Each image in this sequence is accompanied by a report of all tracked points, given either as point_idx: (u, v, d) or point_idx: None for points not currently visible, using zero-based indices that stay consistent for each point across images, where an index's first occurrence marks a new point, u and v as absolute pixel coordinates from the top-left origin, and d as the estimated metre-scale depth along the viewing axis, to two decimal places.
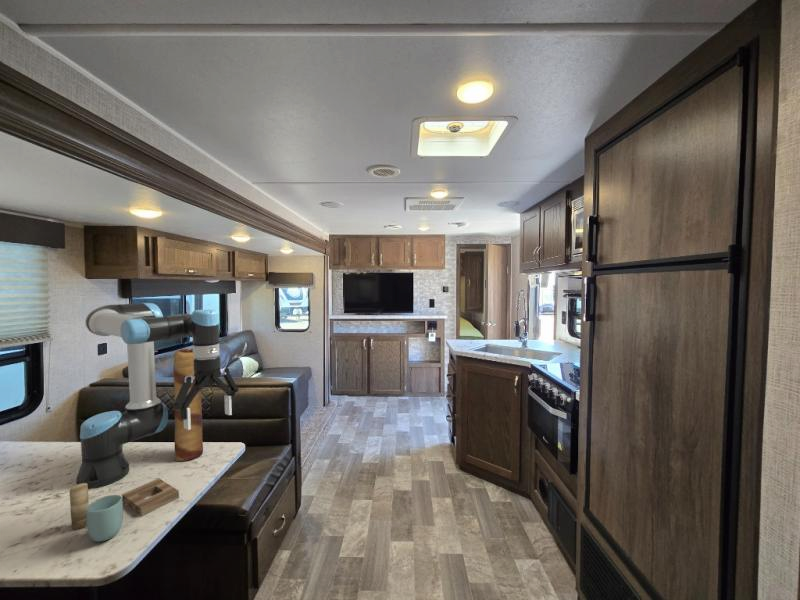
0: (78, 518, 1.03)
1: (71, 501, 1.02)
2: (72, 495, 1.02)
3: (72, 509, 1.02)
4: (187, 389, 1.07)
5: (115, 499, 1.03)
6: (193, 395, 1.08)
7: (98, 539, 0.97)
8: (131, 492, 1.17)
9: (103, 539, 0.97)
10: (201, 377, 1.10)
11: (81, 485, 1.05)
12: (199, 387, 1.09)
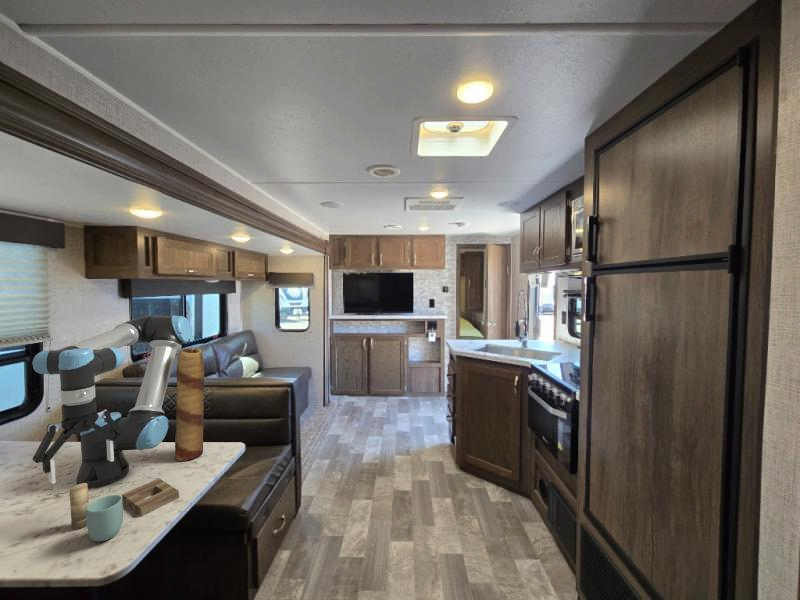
0: (78, 518, 1.03)
1: (71, 501, 1.02)
2: (72, 495, 1.02)
3: (72, 509, 1.02)
4: (50, 439, 0.97)
5: (115, 499, 1.03)
6: (59, 445, 0.99)
7: (98, 539, 0.97)
8: (131, 492, 1.17)
9: (103, 539, 0.97)
10: (70, 424, 1.01)
11: (81, 485, 1.05)
12: (67, 436, 1.00)
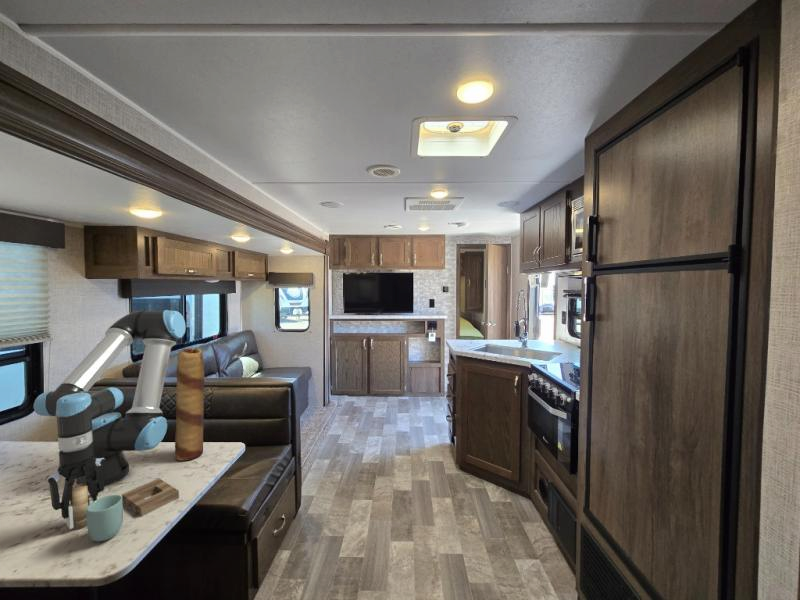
0: (78, 518, 1.03)
1: (71, 501, 1.02)
2: (72, 495, 1.02)
3: None
4: (56, 489, 0.99)
5: (115, 499, 1.03)
6: (68, 492, 1.01)
7: (98, 539, 0.97)
8: (131, 492, 1.17)
9: (103, 539, 0.97)
10: (67, 469, 1.01)
11: (81, 485, 1.05)
12: (70, 482, 1.01)
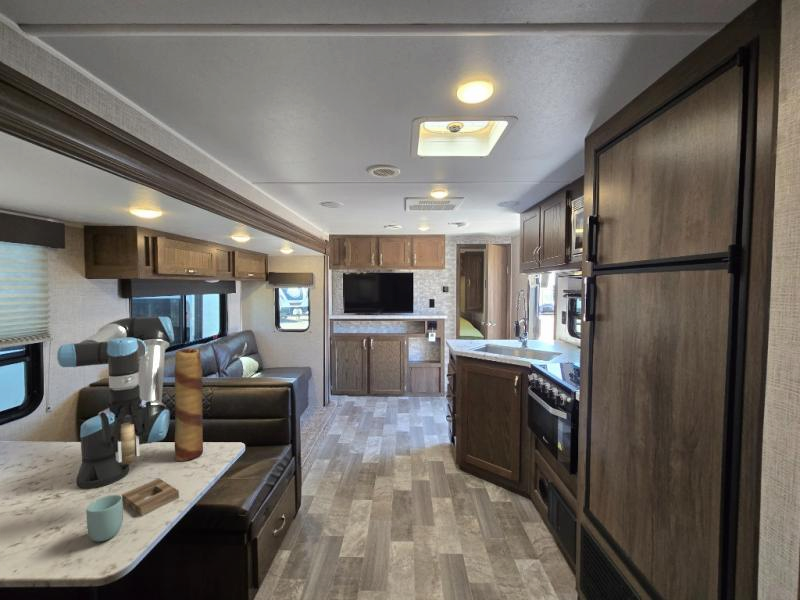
0: (126, 453, 1.10)
1: (120, 437, 1.10)
2: (121, 431, 1.09)
3: None
4: (107, 423, 1.06)
5: (115, 499, 1.03)
6: (117, 427, 1.09)
7: (98, 539, 0.97)
8: (131, 492, 1.17)
9: (103, 539, 0.97)
10: (116, 406, 1.08)
11: (128, 423, 1.12)
12: (119, 419, 1.09)
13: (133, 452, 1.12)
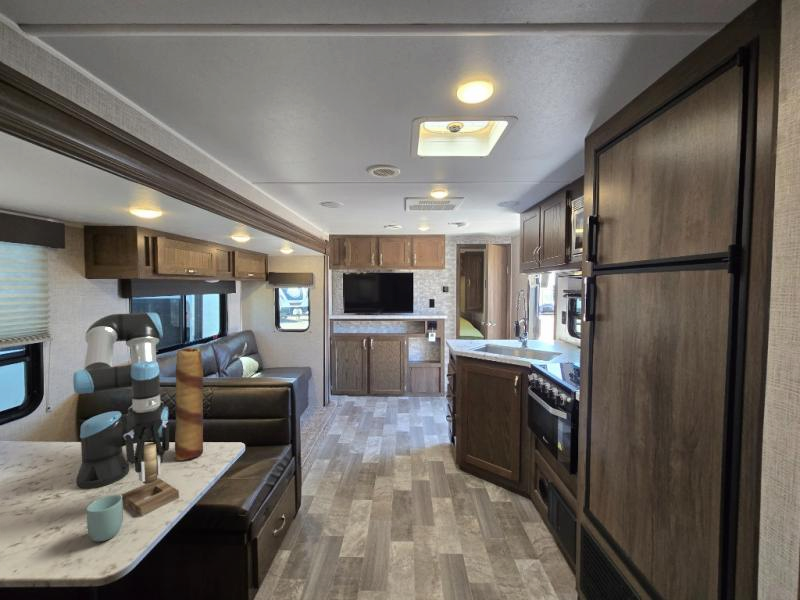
0: (149, 473, 1.15)
1: (143, 457, 1.14)
2: (144, 451, 1.14)
3: (144, 464, 1.14)
4: (131, 445, 1.11)
5: (115, 499, 1.03)
6: (141, 448, 1.13)
7: (98, 539, 0.97)
8: (131, 492, 1.17)
9: (103, 539, 0.97)
10: (140, 428, 1.13)
11: (150, 444, 1.17)
12: (143, 440, 1.13)
13: (155, 471, 1.16)
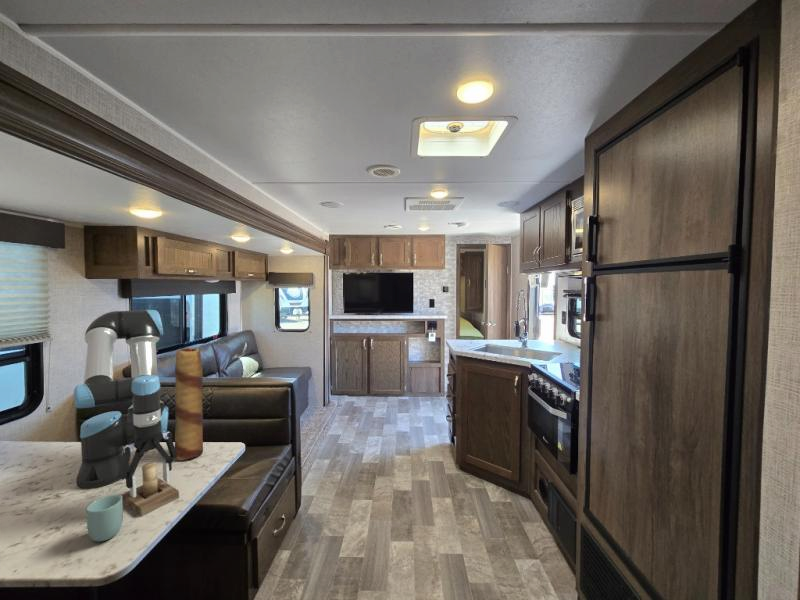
0: (150, 492, 1.15)
1: (144, 477, 1.15)
2: (145, 471, 1.14)
3: (145, 484, 1.15)
4: (128, 459, 1.10)
5: (115, 499, 1.03)
6: (136, 463, 1.12)
7: (98, 539, 0.97)
8: None
9: (103, 539, 0.97)
10: (141, 443, 1.13)
11: (151, 463, 1.17)
12: (140, 454, 1.13)
13: (156, 491, 1.17)
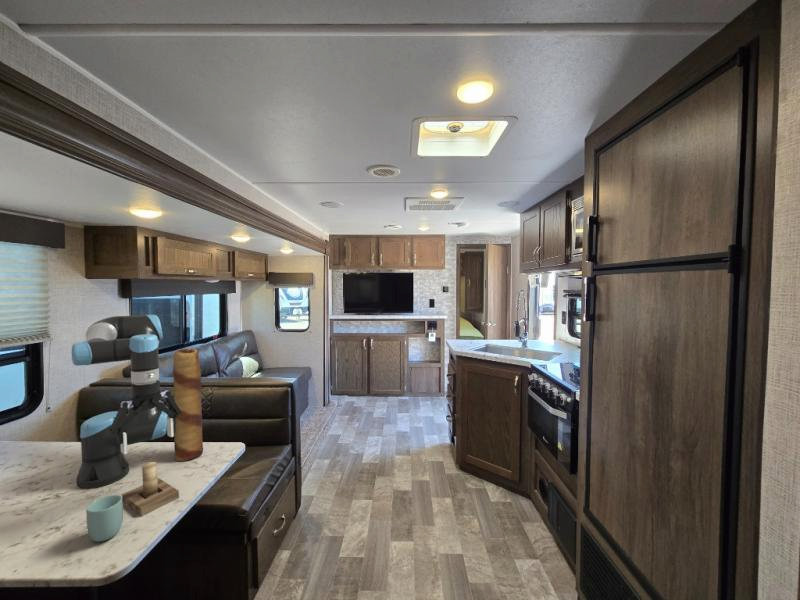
0: (150, 492, 1.15)
1: (144, 477, 1.15)
2: (145, 471, 1.14)
3: (145, 484, 1.15)
4: (123, 414, 1.09)
5: (115, 499, 1.03)
6: (130, 420, 1.10)
7: (98, 539, 0.97)
8: (131, 492, 1.17)
9: (103, 539, 0.97)
10: (139, 402, 1.12)
11: (151, 463, 1.17)
12: (136, 412, 1.11)
13: (156, 491, 1.17)
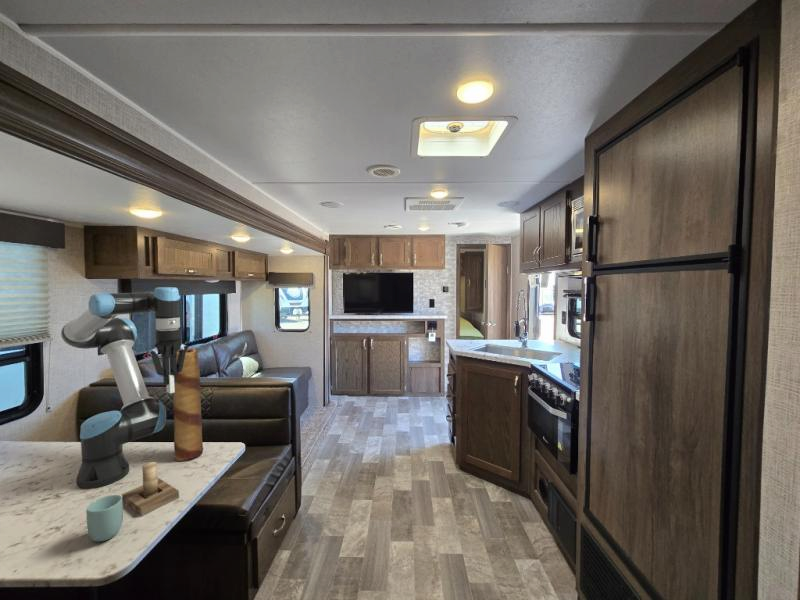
0: (150, 492, 1.15)
1: (144, 477, 1.15)
2: (145, 471, 1.14)
3: (145, 484, 1.15)
4: (158, 359, 1.24)
5: (115, 499, 1.03)
6: (167, 363, 1.26)
7: (98, 539, 0.97)
8: (131, 492, 1.17)
9: (103, 539, 0.97)
10: (162, 345, 1.25)
11: (151, 463, 1.17)
12: (167, 356, 1.26)
13: (156, 491, 1.17)
